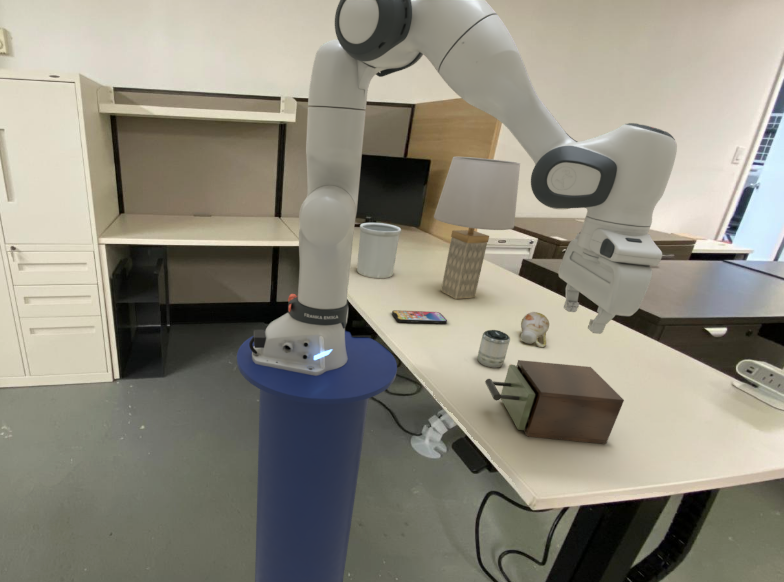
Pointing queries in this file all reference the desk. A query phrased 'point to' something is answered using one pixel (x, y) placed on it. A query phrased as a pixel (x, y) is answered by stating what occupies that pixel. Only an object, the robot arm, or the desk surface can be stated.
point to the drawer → (515, 395)
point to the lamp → (474, 216)
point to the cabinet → (570, 403)
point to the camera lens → (493, 348)
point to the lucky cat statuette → (534, 328)
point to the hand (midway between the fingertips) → (581, 320)
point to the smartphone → (419, 317)
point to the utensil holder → (377, 249)
